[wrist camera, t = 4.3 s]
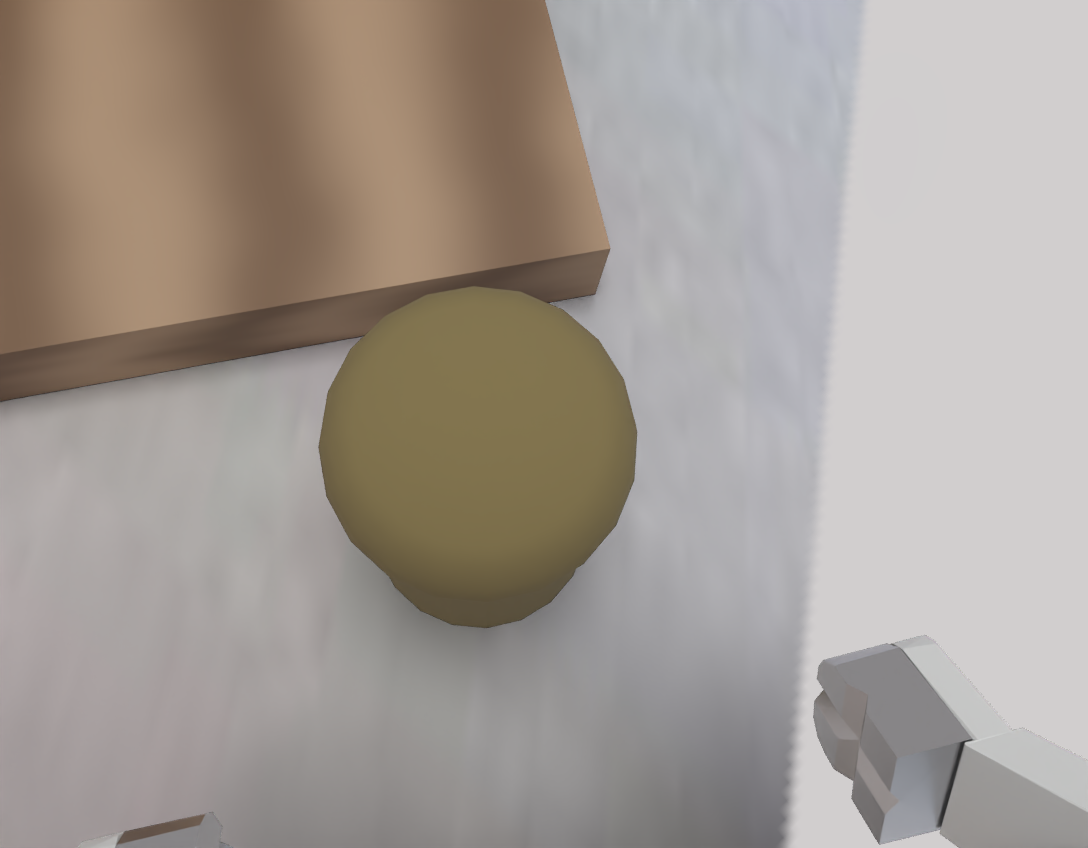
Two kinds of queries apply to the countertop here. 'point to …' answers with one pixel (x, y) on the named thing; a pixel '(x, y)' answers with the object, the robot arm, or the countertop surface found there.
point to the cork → (478, 451)
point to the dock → (273, 175)
